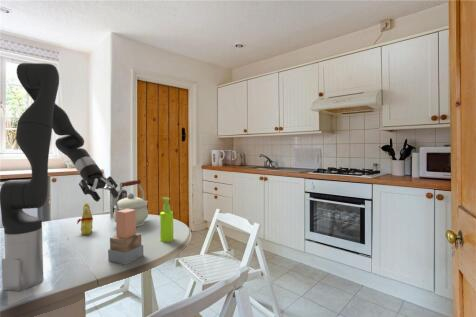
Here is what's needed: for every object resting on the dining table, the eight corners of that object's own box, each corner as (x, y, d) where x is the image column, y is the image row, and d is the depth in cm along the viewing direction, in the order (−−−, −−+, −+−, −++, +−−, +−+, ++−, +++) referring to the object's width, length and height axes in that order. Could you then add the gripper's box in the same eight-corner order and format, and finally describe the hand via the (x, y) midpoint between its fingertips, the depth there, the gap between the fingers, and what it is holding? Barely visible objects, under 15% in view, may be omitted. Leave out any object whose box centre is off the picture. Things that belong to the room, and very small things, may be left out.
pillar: (125, 238, 98) (125, 212, 97) (116, 236, 100) (116, 211, 100) (135, 234, 102) (135, 209, 102) (126, 232, 104) (126, 208, 104)
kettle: (130, 231, 133) (129, 184, 132) (103, 228, 139) (102, 182, 138) (159, 219, 156) (159, 178, 155) (135, 216, 162) (134, 177, 161)
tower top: (126, 252, 96) (126, 240, 96) (110, 249, 99) (109, 237, 99) (141, 244, 104) (141, 233, 103) (125, 242, 106) (125, 231, 106)
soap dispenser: (167, 236, 126) (166, 196, 125) (175, 239, 121) (175, 197, 121) (156, 239, 121) (156, 197, 121) (165, 243, 117) (164, 199, 116)
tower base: (125, 265, 95) (125, 253, 95) (108, 260, 99) (108, 249, 99) (143, 255, 103) (143, 244, 103) (126, 252, 107) (126, 241, 107)
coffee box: (124, 213, 171) (124, 189, 170) (127, 215, 166) (127, 190, 165) (109, 215, 165) (109, 190, 164) (112, 217, 160) (112, 192, 159)
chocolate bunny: (93, 228, 138) (93, 200, 138) (91, 234, 128) (91, 205, 128) (79, 230, 136) (78, 202, 135) (75, 236, 126) (75, 206, 125)
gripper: (76, 164, 101) (96, 195, 97) (107, 162, 114) (126, 189, 110) (67, 177, 104) (87, 207, 99) (99, 174, 117) (117, 201, 113)
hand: (108, 198), depth 105 cm, fingers open, 8 cm apart
